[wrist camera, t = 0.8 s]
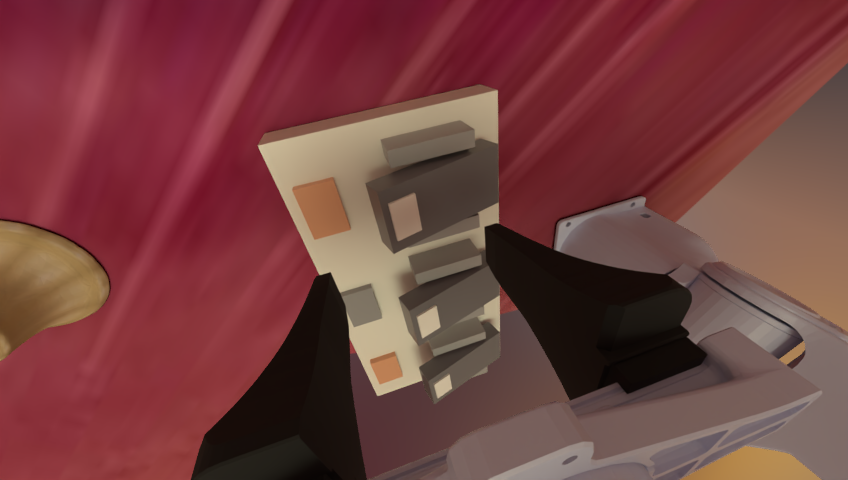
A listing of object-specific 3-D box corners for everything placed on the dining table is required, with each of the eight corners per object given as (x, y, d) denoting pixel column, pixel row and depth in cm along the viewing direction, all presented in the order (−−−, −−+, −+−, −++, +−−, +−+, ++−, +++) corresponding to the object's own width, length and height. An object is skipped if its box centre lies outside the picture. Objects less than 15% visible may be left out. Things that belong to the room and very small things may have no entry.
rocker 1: (480, 138, 19) (499, 144, 18) (482, 194, 22) (500, 203, 20) (365, 183, 17) (378, 193, 15) (382, 241, 19) (395, 255, 18)
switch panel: (480, 84, 20) (516, 96, 17) (490, 335, 36) (509, 370, 33) (264, 133, 19) (250, 159, 15) (374, 375, 34) (380, 417, 31)
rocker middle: (485, 249, 25) (500, 260, 23) (486, 284, 27) (500, 296, 26) (398, 297, 22) (410, 312, 21) (408, 332, 24) (419, 347, 23)
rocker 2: (488, 321, 30) (500, 333, 29) (489, 345, 32) (501, 357, 31) (418, 367, 27) (429, 382, 26) (425, 390, 30) (435, 405, 28)
